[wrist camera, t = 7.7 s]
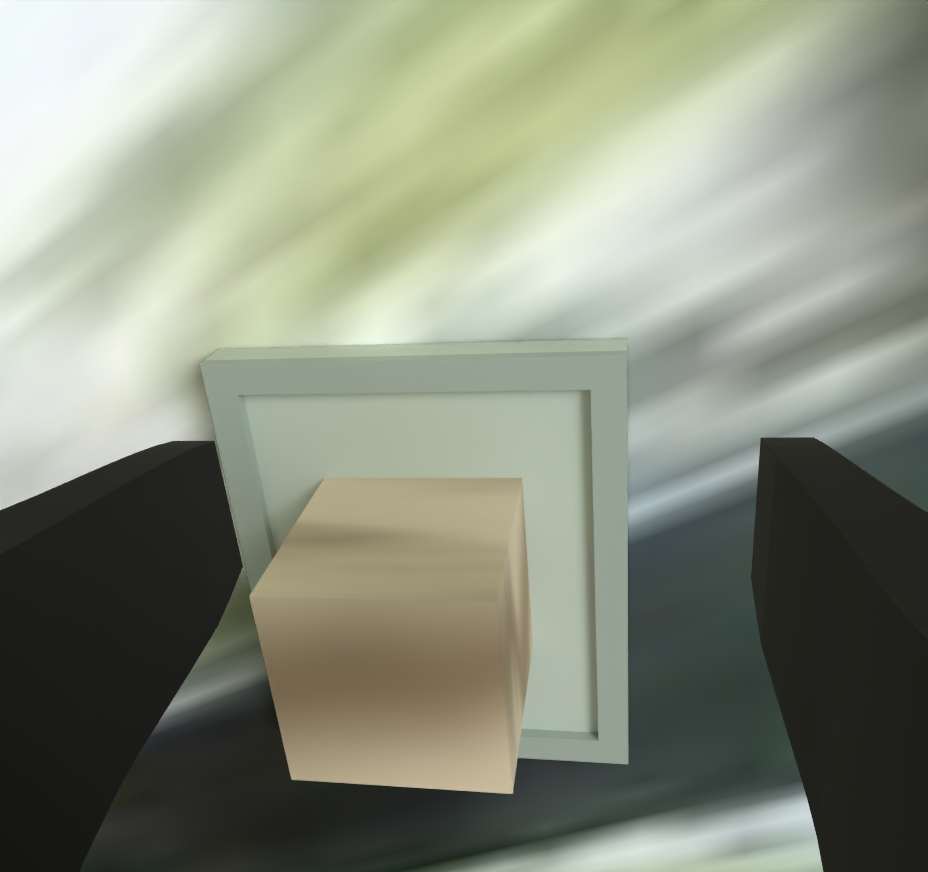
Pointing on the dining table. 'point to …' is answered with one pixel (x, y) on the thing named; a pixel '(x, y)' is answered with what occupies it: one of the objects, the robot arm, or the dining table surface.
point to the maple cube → (401, 633)
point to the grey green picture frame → (461, 456)
